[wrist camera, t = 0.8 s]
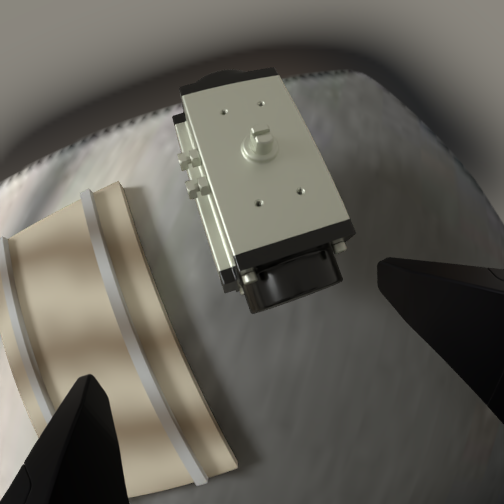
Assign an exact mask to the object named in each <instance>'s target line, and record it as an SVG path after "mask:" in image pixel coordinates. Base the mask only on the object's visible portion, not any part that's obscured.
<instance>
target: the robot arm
mask: <svg viewBox="0 0 504 504" xmlns="http://www.w3.org/2000/svg"><path fill="white" fill-rule="evenodd" d="M377 277H378V288H379V290H380V291H381V293H382V294H383V295H384V296H385V297H386V299H387V300H388V301H389V302H390V303H391V305H392V306H393V307H394V308H395V309H396V310H397V312H398V313H399V314H400V315H401V316H402V318H403V319H404V320H405V321H406V322H407V323H408V324H409V325H410V326H411V327H412V328H413V329H414V330H415V331H416V332H417V333H418V334H419V335H420V336H421V337H422V338H423V339H424V340H425V341H426V342H427V343H428V344H429V345H430V346H431V347H432V348H433V349H434V350H435V351H436V352H437V353H438V354H439V355H440V356H441V357H442V358H443V359H444V360H445V361H446V362H447V364H448V365H449V366H450V367H451V368H452V369H453V370H454V371H455V372H456V373H457V374H458V375H459V376H460V377H461V378H462V379H463V380H464V381H465V382H466V383H467V384H468V385H469V387H470V388H471V389H472V390H473V391H474V392H475V393H476V394H477V395H478V396H479V397H480V398H481V399H482V401H483V402H484V403H485V404H486V405H487V406H488V407H489V408H490V410H491V411H492V412H493V413H494V414H495V415H496V416H497V417H498V418H499V420H500V421H501V422H502V423H503V424H504V269H495V268H485V267H476V266H467V265H458V264H449V263H439V262H430V261H420V260H411V259H401V258H391V257H389V258H386V259H384V260H382V261H380V262H379V263H378V265H377ZM24 464H25V465H24ZM24 464H23V465H22V467H21V468H20V470H19V472H18V474H17V475H16V477H15V479H14V480H13V482H12V484H11V485H10V487H9V489H8V490H7V492H6V493H5V495H4V496H3V498H2V499H1V501H0V504H129V500H128V495H127V489H126V484H125V479H124V473H123V467H122V460H121V453H120V447H119V442H118V437H117V433H116V429H115V425H114V421H113V416H112V411H111V407H110V402H109V398H108V396H107V394H106V392H105V391H104V389H103V388H102V387H101V385H100V384H99V382H98V381H97V379H96V378H95V377H94V376H93V375H92V374H87V375H84V376H81V377H79V378H78V379H77V380H76V382H75V383H74V385H73V386H72V388H71V389H70V391H69V392H68V394H67V395H66V397H65V398H64V400H63V401H62V403H61V404H60V406H59V407H58V409H57V410H56V412H55V413H54V415H53V416H52V418H51V420H50V421H49V423H48V424H47V426H46V427H45V429H44V431H43V432H42V434H41V435H40V437H39V439H38V440H37V442H36V443H35V445H34V447H33V448H32V450H31V452H30V453H29V455H28V457H27V458H26V460H25V462H24Z"/></svg>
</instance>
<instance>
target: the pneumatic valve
mask: <svg viewBox="0 0 504 504" xmlns="http://www.w3.org/2000/svg"><path fill="white" fill-rule="evenodd" d="M179 90H180V96H181V101H182V107H183V113H181V114H178V115H174V116H173V117H172V118H173V122H174V126H175V130H176V134H177V138H178V142H179V146H180V150H181V153H180V154H177V155H178V159H179V162H180V166H181V169H182V171H184V170H187V174H188V177H189V181H186V182H185V184H186V187H187V191H188V194H189V197H190V199H195V201H196V204H197V207H198V211H199V214H200V217H201V221H202V224H203V227H204V230H205V233H206V237H207V240H208V243H209V246H210V249H211V253H212V256H213V259H214V262H215V265H216V268H217V271H218V274H219V277H220V280H221V284H222V287H223V290H224V293H228V292H231V291H234V290H236V292H238V291H240V293H241V295H245V298H246V301H247V304H248V306H249V309H250V312H251V313H252V314H255V313H258V312H262V311H265V310H268V309H271V308H274V307H277V306H280V305H283V304H286V303H288V302H291V301H294V300H297V299H299V298H302V297H305V296H308V295H310V294H313V293H315V292H318V291H321V290H323V289H326V288H328V287H331V286H333V285H335V284H338V283H340V282H342V281H343V278H342V275H341V272H340V270H339V267H338V264H337V262H336V259H335V257H334V254H339V253H341V252H344V251H345V250H347V247H346V245H345V242H346V241H347V240H349V239H350V238H351V237H352V236H354V235H355V234H356V232H355V229H354V227H353V225H352V222H351V220H350V217H349V215H348V213H347V210H346V208H345V206H344V204H343V201H342V199H341V197H340V194H339V192H338V190H337V188H336V186H335V183H334V181H333V179H332V177H331V175H330V173H329V170H328V168H327V166H326V164H325V162H324V160H323V158H322V156H321V154H320V152H319V150H318V148H317V146H316V143H315V141H314V139H313V137H312V136H311V134H310V132H309V130H308V128H307V126H306V124H305V122H304V120H303V118H302V116H301V114H300V112H299V110H298V109H297V107H296V105H295V103H294V101H293V99H292V98H291V96H290V94H289V92H288V90H287V89H286V87H285V85H284V83H283V81H282V80H281V78H280V76H279V74H278V73H277V71H276V69H275V68H274V67H273V68H266V69H261V70H254V71H249V72H244V71H241V70H221V71H217V72H214V73H211V74H209V75H207V76H205V77H203V78H201V79H200V80H198V81H197V82H196V83H194V84H190V85H186V86H182V87H180V88H179ZM333 252H334V254H333Z"/></svg>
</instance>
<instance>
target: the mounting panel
mask: <svg viewBox="0 0 504 504" xmlns="http://www.w3.org/2000/svg"><path fill="white" fill-rule="evenodd" d="M80 196H81V199H80V200H78V201H76V202H74V203H72V204H70V205H68V206H66V207H64V208H62V209H60V210H58V211H57V212H55V213H53V214H51V215H49V216H47V217H45V218H44V219H42V220H40V221H38V222H36V223H35V224H33V225H31V226H29V227H28V228H26V229H24V230H23V231H21V232H19V233H17V234H16V235H14V236H12V237H11V238H9V239H6V238H4V237H1V238H0V334H1V337H2V341H3V345H4V348H5V352H6V355H7V358H8V361H9V365H10V368H11V371H12V374H13V377H14V379H15V382H16V385H17V388H18V391H19V393H20V396H21V398H22V401H23V403H24V406H25V408H26V411H27V413H28V415H29V418H30V420H31V422H32V425H33V427H34V429H35V431H36V433H37V435H38V438H39V437H40V435H41V434H42V432H43V431H44V429H45V427H46V426H47V424H48V423H49V421H50V420H51V418H52V416H53V415H54V413H55V412H56V410H57V409H58V407H59V406H60V404H61V403H62V401H63V400H64V398H65V397H66V395H67V394H68V392H69V391H70V389H71V388H72V386H73V385H74V383H75V382H76V380H77V379H78V378H79V377H81V376H84V375H87V374H92V375H93V376H94V377H95V378H96V379H97V381H98V382H99V384H100V385H101V387H102V388H103V389H104V391H105V392H106V394H107V396H108V398H109V402H110V407H111V411H112V416H113V421H114V425H115V429H116V433H117V437H118V442H119V447H120V453H121V460H122V467H123V473H124V479H125V484H126V489H127V495H128V498H130V497H135V496H140V495H145V494H150V493H154V492H159V491H163V490H167V489H171V488H175V487H179V486H182V485H186V484H190V483H193V482H195V484H196V485H197V486H199V485H202V484H205V483H208V478H210V477H213V476H216V475H219V474H222V473H225V472H228V471H231V470H233V469H236V468H238V461H237V459H236V457H235V456H234V454H233V452H232V450H231V448H230V446H229V445H228V443H227V441H226V439H225V437H224V435H223V433H222V432H221V430H220V428H219V426H218V424H217V422H216V420H215V418H214V416H213V414H212V412H211V410H210V408H209V406H208V404H207V402H206V400H205V398H204V396H203V394H202V392H201V390H200V388H199V385H198V383H197V381H196V379H195V377H194V375H193V373H192V370H191V368H190V366H189V364H188V362H187V359H186V357H185V355H184V353H183V350H182V348H181V346H180V343H179V341H178V339H177V336H176V334H175V332H174V329H173V327H172V324H171V322H170V320H169V317H168V315H167V312H166V310H165V307H164V305H163V302H162V300H161V297H160V295H159V292H158V289H157V287H156V284H155V281H154V279H153V276H152V273H151V271H150V268H149V265H148V262H147V260H146V257H145V254H144V251H143V248H142V245H141V242H140V239H139V236H138V233H137V230H136V227H135V224H134V221H133V218H132V215H131V212H130V209H129V205H128V202H127V199H126V196H125V192H124V189H123V187H122V185H121V184H120V183H119V181H117V182H115V183H113V184H111V185H109V186H107V187H105V188H102V189H100V190H98V191H96V192H94V193H93V192H92V191H91V190H90V189H87V190H85V191H83V192H81V193H80Z"/></svg>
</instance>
